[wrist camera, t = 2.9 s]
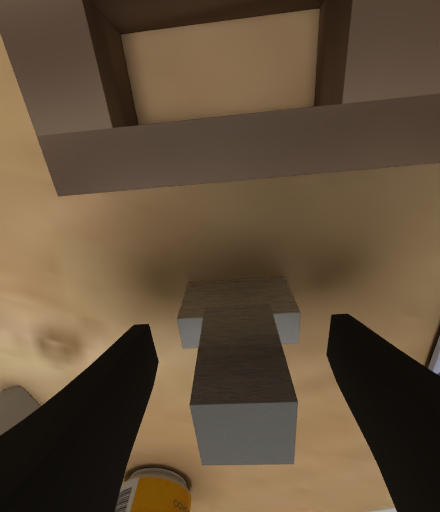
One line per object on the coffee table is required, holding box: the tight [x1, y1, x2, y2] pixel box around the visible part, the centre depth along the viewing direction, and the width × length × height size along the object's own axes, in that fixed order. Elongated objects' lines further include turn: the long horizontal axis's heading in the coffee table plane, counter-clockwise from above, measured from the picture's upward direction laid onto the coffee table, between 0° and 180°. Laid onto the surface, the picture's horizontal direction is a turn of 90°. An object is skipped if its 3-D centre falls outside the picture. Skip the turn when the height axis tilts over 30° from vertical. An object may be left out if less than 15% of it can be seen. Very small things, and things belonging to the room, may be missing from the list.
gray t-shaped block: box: [177, 277, 300, 465], centre depth 9 cm, size 3×5×7 cm, turn 95°
